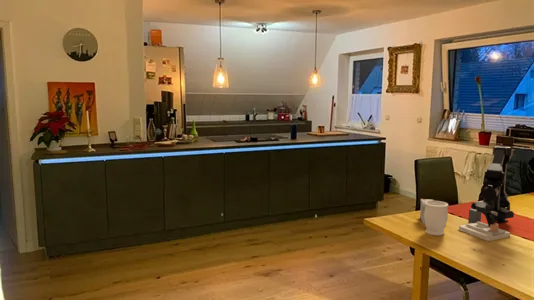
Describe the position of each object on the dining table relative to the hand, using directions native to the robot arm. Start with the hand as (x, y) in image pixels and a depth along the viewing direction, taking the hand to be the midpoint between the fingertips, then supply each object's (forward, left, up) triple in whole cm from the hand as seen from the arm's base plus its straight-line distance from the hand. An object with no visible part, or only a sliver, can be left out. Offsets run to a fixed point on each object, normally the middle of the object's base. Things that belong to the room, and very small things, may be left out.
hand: (490, 227), depth 196 cm
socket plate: (0, -3, -4) cm, 5 cm away
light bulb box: (+11, -28, -4) cm, 31 cm away
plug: (-9, -16, -4) cm, 19 cm away
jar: (+21, -13, -4) cm, 25 cm away
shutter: (0, +2, -2) cm, 3 cm away
